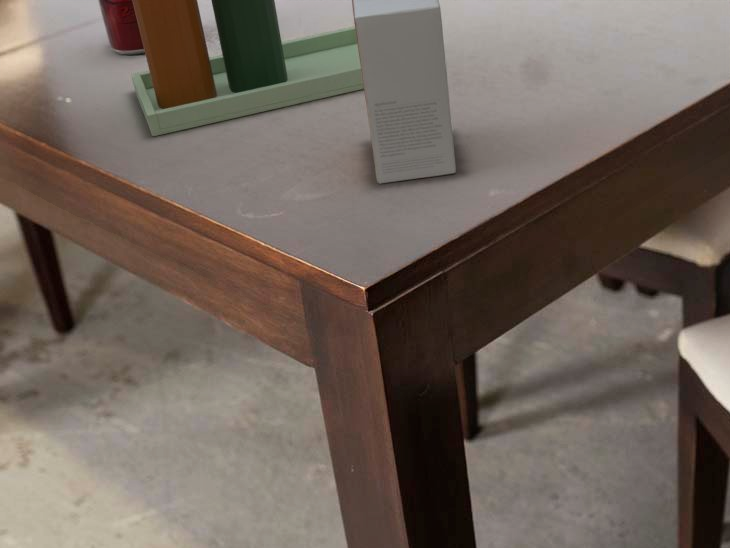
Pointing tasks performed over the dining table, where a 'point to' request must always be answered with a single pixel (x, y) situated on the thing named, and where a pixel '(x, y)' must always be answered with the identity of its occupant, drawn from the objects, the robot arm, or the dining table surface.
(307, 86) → the tray
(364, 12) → the small box
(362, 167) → the dining table surface
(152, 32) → the amber bottle
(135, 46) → the soda can
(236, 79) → the green bottle
